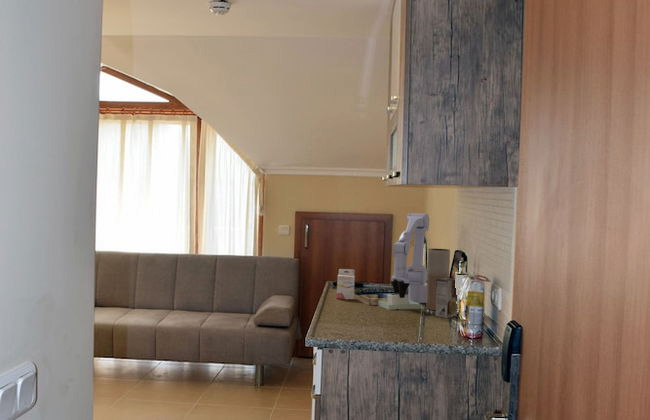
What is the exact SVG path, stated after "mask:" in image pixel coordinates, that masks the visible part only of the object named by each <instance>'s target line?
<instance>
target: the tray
mask: <svg viewBox="0 0 650 420" xmlns="http://www.w3.org/2000/svg"><path fill="white" fill-rule="evenodd" d="M377 306H378V307H381V308H383V309H385V310H389V311H390V310H394V311H395V310H396V309H399V310H421V309H422V308H421V303H416V302H413V301H410V300H408V304H388V301H378V305H377Z"/></svg>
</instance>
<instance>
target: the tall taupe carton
mask: <svg viewBox="0 0 650 420" xmlns="http://www.w3.org/2000/svg"><path fill="white" fill-rule="evenodd" d="M427 251H428V252H427V282H426V285H427V301H426V303H425V304H426V305H425V306H426V310H429V311H436V285H437V279H443V278H450V265H451V264H450V263H451V259H450V258H451V249H447V248H428V250H427Z"/></svg>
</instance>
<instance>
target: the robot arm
mask: <svg viewBox="0 0 650 420" xmlns="http://www.w3.org/2000/svg"><path fill="white" fill-rule="evenodd" d="M406 222H407V226H406V227H405V228H406V229H405V230H404V231H402V233H401V234H400V236H399V238H398V240H397V241H396V242H395V243H393V246H392V247H393V248H392V252H393V258H394V268H393V269H394V270H393V275H391V281H390V284H391V285H392V290H393V293H399V296H400V298H404V297H405V294H406V293H407V291H408V293H407V295H408V300H410V301H413V302H416V303H419V304H421V303H422V304H424V303H425V304H426V301H427V274H428V268H426V266H424V264H423V256H424V248H425V247H424V246H425V245H424V244H425V236H426V232H428V231H429V226H430V216H429V214H428V213H427V212H426V213H419V212H418V213H415V212H414V213H413V212H409V213H408V214H407V216H406ZM413 235H414V236H413ZM413 240H414V242H413V254H412V262H411V264H410V265H409V266H408V255H409V253H410V250H411V249H410V248H411V242H412V241H413Z"/></svg>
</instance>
